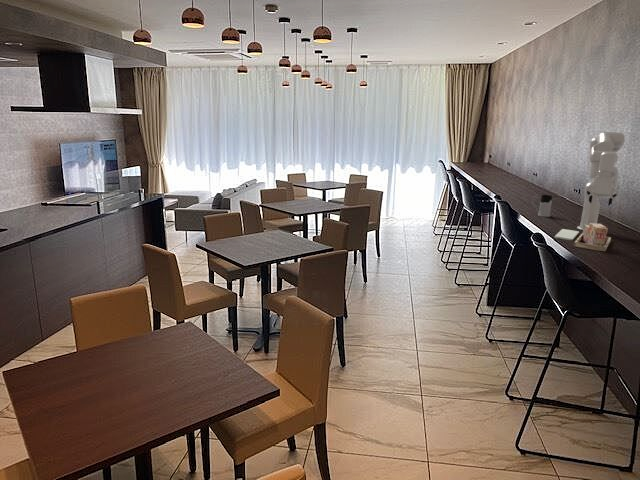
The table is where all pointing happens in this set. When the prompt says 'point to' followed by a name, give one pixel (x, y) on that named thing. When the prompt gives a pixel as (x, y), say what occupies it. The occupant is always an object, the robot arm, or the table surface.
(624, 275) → the table surface
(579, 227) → the robot arm
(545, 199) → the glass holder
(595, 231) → the stack of blocks
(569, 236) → the sage mat
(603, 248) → the beige open rectangular frame
